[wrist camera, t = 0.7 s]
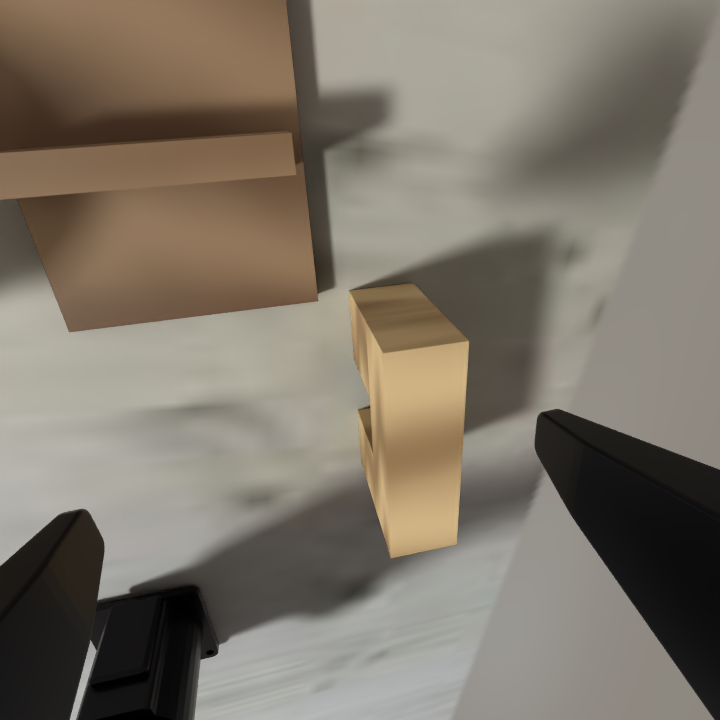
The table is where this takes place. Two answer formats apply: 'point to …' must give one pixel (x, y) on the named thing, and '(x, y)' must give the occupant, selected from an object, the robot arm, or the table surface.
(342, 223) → the table surface
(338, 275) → the table surface
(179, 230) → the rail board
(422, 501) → the tan notched block
